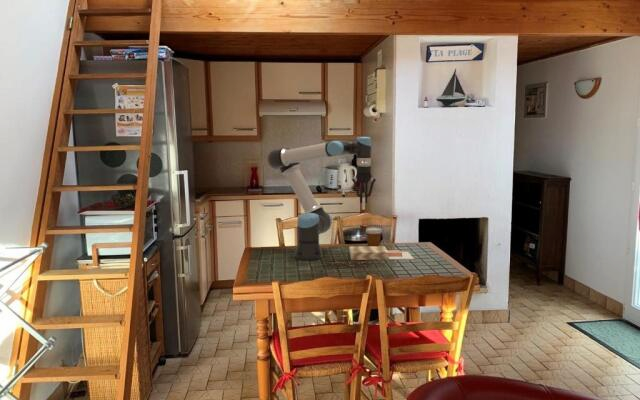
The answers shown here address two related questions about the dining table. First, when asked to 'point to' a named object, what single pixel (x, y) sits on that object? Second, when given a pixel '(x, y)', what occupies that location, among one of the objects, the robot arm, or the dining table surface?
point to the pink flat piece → (395, 253)
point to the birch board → (368, 253)
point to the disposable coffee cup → (373, 236)
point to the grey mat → (403, 257)
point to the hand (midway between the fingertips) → (363, 209)
